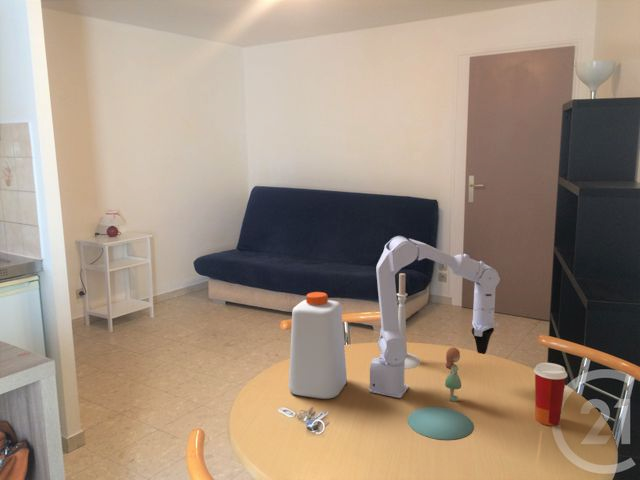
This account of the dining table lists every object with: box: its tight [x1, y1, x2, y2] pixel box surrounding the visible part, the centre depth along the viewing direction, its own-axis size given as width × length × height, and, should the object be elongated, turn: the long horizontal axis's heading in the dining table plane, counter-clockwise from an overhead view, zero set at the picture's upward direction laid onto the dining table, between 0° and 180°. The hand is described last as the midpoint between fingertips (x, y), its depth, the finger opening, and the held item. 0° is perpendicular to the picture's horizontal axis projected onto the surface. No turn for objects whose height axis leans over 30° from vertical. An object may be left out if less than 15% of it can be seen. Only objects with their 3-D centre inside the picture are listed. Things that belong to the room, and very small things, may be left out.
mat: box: [407, 406, 474, 441], centre depth 132 cm, size 16×16×1 cm
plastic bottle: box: [288, 291, 348, 400], centre depth 151 cm, size 15×15×28 cm
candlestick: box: [396, 272, 422, 370], centre depth 168 cm, size 13×13×30 cm
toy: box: [444, 346, 462, 402], centre depth 143 cm, size 13×4×15 cm, turn 168°
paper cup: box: [532, 362, 568, 427], centre depth 132 cm, size 8×8×14 cm
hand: (481, 352), depth 151 cm, fingers closed
